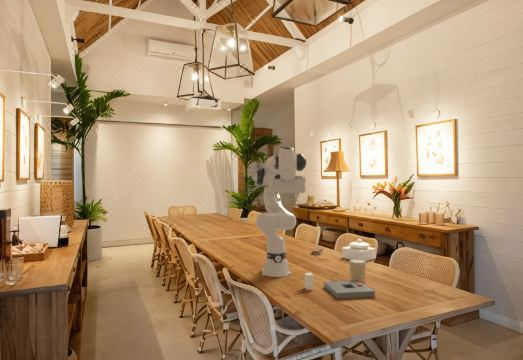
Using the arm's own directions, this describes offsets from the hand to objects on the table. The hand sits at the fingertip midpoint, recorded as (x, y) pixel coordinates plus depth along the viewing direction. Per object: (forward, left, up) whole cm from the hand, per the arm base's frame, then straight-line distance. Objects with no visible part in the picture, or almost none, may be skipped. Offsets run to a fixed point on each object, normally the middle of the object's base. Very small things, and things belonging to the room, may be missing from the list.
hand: (287, 201), depth 190 cm
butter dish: (-62, +69, -48) cm, 104 cm away
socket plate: (+9, +31, -48) cm, 58 cm away
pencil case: (-86, +45, -48) cm, 108 cm away
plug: (0, +12, -48) cm, 49 cm away
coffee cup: (-8, +44, -48) cm, 66 cm away
